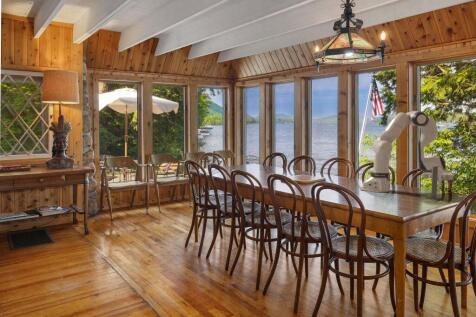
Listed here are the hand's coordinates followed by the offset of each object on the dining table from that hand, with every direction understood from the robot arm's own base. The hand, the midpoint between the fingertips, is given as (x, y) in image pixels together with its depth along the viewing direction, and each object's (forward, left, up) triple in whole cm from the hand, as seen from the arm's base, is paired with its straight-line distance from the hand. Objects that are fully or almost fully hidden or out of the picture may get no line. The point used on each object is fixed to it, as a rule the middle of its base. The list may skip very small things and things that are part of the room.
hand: (436, 177), depth 276 cm
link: (0, 0, -7) cm, 7 cm away
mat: (-6, -5, -13) cm, 15 cm away
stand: (0, -15, -13) cm, 20 cm away
